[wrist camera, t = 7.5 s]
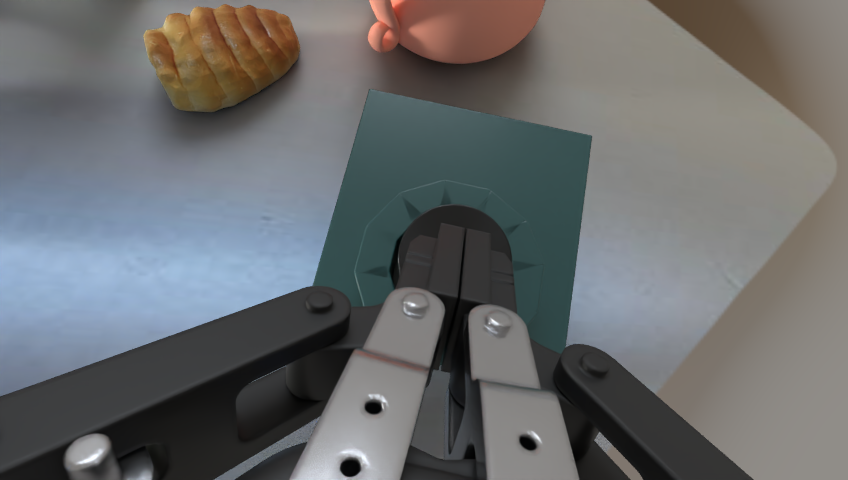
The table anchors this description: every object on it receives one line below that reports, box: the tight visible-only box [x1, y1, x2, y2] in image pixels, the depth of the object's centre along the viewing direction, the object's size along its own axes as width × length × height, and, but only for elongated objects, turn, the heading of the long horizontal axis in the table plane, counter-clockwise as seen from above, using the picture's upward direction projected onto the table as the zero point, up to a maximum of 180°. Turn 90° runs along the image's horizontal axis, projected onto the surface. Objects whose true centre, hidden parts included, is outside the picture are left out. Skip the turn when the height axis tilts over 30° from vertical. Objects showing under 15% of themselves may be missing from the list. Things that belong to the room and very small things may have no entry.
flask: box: [313, 89, 592, 365], centre depth 22 cm, size 11×10×12 cm
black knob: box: [398, 204, 512, 276], centre depth 15 cm, size 4×4×3 cm
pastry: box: [143, 4, 300, 112], centre depth 29 cm, size 9×7×4 cm
